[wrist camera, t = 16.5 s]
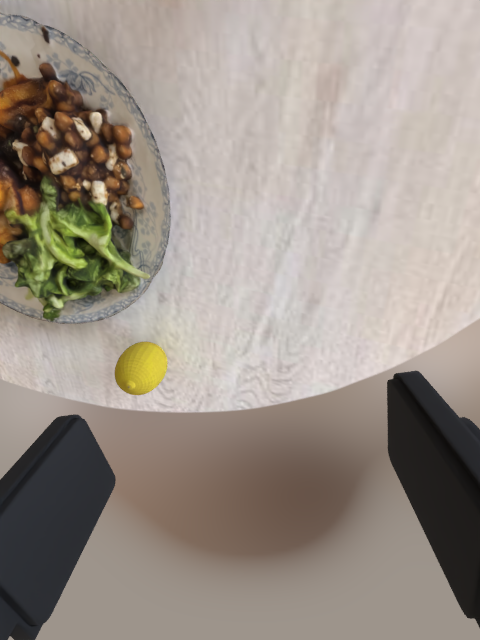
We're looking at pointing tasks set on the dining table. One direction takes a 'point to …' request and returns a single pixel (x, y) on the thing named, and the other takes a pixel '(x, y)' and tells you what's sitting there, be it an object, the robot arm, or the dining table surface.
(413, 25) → the dining table surface
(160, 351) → the lemon
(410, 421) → the robot arm
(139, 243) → the plate of food
